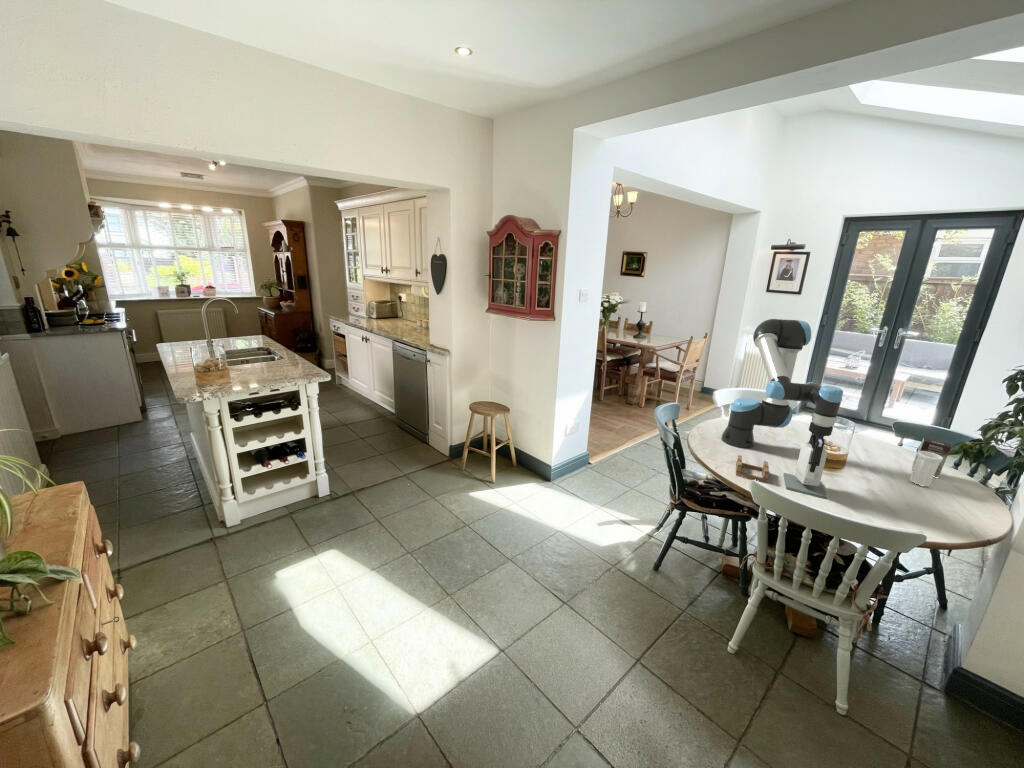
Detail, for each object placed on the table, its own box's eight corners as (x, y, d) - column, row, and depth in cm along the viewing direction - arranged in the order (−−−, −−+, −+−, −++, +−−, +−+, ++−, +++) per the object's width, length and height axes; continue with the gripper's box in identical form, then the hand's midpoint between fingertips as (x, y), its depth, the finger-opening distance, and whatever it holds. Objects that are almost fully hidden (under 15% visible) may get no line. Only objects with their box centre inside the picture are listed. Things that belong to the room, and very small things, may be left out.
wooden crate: (735, 464, 193) (738, 454, 191) (765, 471, 187) (768, 461, 186) (735, 475, 183) (737, 465, 181) (766, 483, 177) (769, 472, 176)
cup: (925, 481, 185) (936, 452, 181) (936, 490, 178) (947, 460, 174) (902, 477, 188) (913, 449, 183) (912, 486, 180) (924, 456, 176)
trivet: (783, 474, 185) (783, 472, 185) (821, 483, 179) (821, 481, 179) (785, 488, 173) (786, 486, 173) (826, 499, 167) (827, 496, 167)
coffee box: (911, 471, 193) (923, 440, 189) (911, 467, 198) (922, 436, 193) (938, 479, 188) (951, 447, 183) (937, 474, 192) (950, 443, 187)
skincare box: (819, 486, 171) (829, 452, 166) (801, 484, 172) (811, 450, 167) (809, 477, 179) (819, 444, 174) (792, 474, 180) (801, 442, 175)
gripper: (807, 413, 179) (794, 460, 185) (814, 430, 160) (800, 482, 167) (828, 417, 175) (814, 464, 182) (838, 435, 157) (822, 487, 163)
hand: (807, 473), depth 174 cm, fingers closed on skincare box, 9 cm apart
